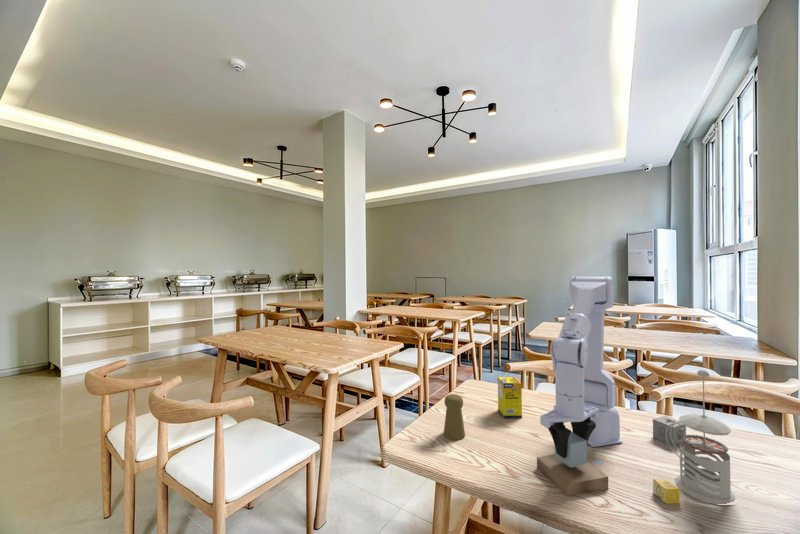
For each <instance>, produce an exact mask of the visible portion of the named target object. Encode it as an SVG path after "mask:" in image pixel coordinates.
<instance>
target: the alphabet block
mask: <svg viewBox="0 0 800 534" xmlns="http://www.w3.org/2000/svg"><path fill="white" fill-rule="evenodd" d="M652 493H653V494H654V495H656V497H657V498H659V499H660V500H661V501H662V502H663V503H664V504H679V503H680V493H681V489H680V488H679V487H678V486H677V485H676V484H674V483H673V482H671V481H670V480H669V479H667V478H653V480H652Z"/></svg>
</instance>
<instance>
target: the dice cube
mask: <svg viewBox="0 0 800 534" xmlns="http://www.w3.org/2000/svg"><path fill="white" fill-rule="evenodd" d="M678 421H679V420H677V419H674V418H673V417H672V418H671V417H669V416H667V415H664V416H663V415H662V416H660V417H656V418H652V437H653V438H654V439H656V440H658V441H660V442H662V443H666V444H667V445H668V443H667V440H666V429H667V427H668V426H669V425H670V424H672V423H675V422H678ZM680 425H681V429H682V428H684V424H682V423H681V422H680ZM671 426H672V425H671ZM671 426H670V427H669V428H668V430H667V439H668V442H669V445H670V446H671V447H675V446H676V447H677V446H680V444H681V443H682V445H684V442H683V440H682V437H683V436H684V435H687V428H686V427H687V426H685V428H684V429H683V430H681V429H680V426H679V424H674V426H673V427H672V430H671V436H672V440H673V442H674V444H675V446H674V445H673V443H672V440H671V437H670V428H671ZM669 445H668V446H669Z"/></svg>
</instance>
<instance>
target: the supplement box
mask: <svg viewBox="0 0 800 534" xmlns="http://www.w3.org/2000/svg"><path fill="white" fill-rule="evenodd" d="M522 385H523V384H522V382H521V381H520V380H519V379H518V378H517V377H516V376H498V377H497V408H498V409H497V410H498V412H499V413H500V415H501V417H502V418H503V419H522V418H523V406H522V405H523V403H522V400H523V397H522V396H523V395H522V391H523V390H522V389H523V388H522V387H523V386H522Z"/></svg>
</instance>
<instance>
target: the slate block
mask: <svg viewBox="0 0 800 534" xmlns="http://www.w3.org/2000/svg"><path fill="white" fill-rule="evenodd" d="M587 446H588V443H587V441H586V440H585V439H583V438H581V437H580V436H578V435H576V434H574V433H573V432H571V433H570V436H569V439H568V445H567V456H566V458H562V457H561V456H559V455H558V454H557V452H556V448H555V447H554V454H555V457H556V458H558V459H559V460H561V461H562V462H563V463H565V464H566V465H568V466H569V467H570V468H571V467H575V466H579V465H583V464H587V461H588V451H587V450H588V447H587Z"/></svg>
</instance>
